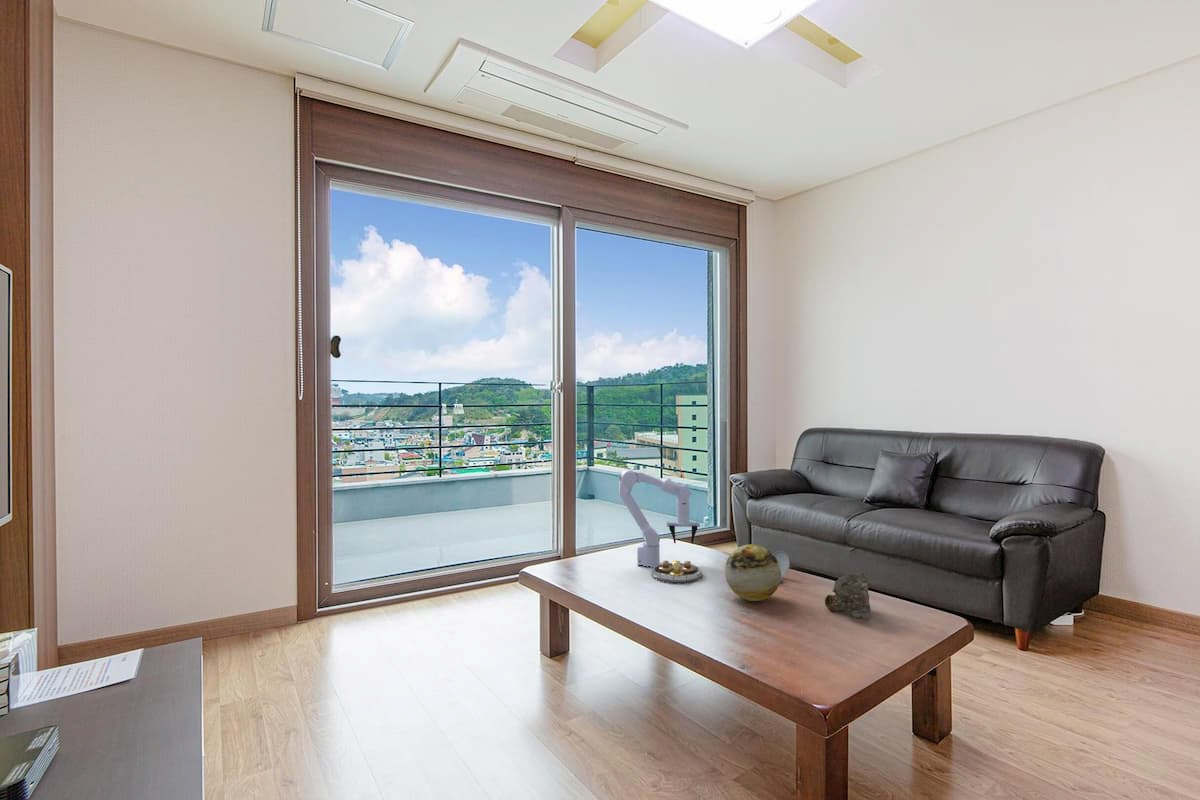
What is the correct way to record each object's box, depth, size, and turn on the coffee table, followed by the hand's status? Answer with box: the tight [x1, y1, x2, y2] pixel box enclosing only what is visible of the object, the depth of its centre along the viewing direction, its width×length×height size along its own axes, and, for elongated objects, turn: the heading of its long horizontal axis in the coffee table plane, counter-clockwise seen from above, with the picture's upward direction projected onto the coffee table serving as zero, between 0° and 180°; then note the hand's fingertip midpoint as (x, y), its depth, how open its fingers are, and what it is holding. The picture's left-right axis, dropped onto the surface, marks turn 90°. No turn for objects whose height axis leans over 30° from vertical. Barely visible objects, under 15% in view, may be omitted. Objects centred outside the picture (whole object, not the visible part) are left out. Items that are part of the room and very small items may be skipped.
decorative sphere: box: [724, 543, 782, 602], centre depth 222 cm, size 20×20×20 cm
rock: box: [824, 572, 873, 620], centre depth 206 cm, size 18×14×15 cm
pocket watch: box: [772, 550, 791, 583], centre depth 245 cm, size 10×11×15 cm
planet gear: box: [669, 560, 684, 576], centre depth 247 cm, size 6×6×6 cm
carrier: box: [651, 560, 703, 584], centre depth 253 cm, size 21×21×5 cm
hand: (683, 542), depth 270 cm, fingers open, 7 cm apart
